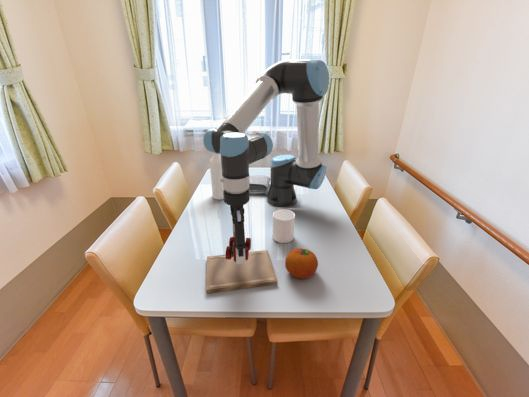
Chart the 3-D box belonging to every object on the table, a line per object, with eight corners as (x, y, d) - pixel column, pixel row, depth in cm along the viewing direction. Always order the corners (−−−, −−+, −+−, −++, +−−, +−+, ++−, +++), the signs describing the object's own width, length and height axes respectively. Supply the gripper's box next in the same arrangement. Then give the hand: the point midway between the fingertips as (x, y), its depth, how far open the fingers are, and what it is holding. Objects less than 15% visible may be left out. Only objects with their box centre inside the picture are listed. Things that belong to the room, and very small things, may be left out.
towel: (268, 197, 141) (268, 184, 138) (234, 196, 143) (233, 182, 140) (270, 186, 155) (270, 173, 152) (239, 185, 157) (239, 172, 153)
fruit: (294, 287, 83) (295, 267, 79) (279, 267, 91) (280, 248, 88) (323, 278, 87) (325, 258, 83) (306, 259, 95) (307, 240, 92)
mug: (292, 227, 114) (293, 205, 109) (294, 244, 103) (295, 220, 99) (272, 227, 114) (273, 205, 110) (272, 243, 104) (272, 220, 99)
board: (267, 253, 98) (267, 249, 97) (277, 284, 84) (277, 280, 83) (207, 260, 95) (207, 256, 94) (206, 293, 80) (206, 289, 80)
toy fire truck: (224, 265, 81) (222, 237, 76) (232, 242, 92) (230, 215, 87) (246, 267, 80) (246, 238, 76) (252, 243, 91) (251, 216, 87)
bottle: (230, 198, 140) (227, 142, 126) (216, 202, 136) (211, 144, 122) (223, 193, 145) (219, 138, 132) (210, 196, 141) (204, 141, 128)
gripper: (221, 174, 86) (225, 230, 95) (224, 209, 64) (229, 277, 74) (244, 173, 87) (246, 228, 97) (255, 207, 66) (256, 274, 75)
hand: (239, 250), depth 85 cm, fingers closed on toy fire truck, 12 cm apart
